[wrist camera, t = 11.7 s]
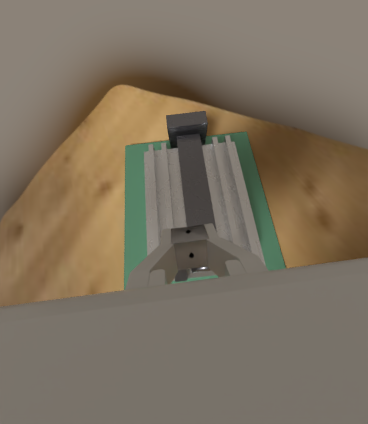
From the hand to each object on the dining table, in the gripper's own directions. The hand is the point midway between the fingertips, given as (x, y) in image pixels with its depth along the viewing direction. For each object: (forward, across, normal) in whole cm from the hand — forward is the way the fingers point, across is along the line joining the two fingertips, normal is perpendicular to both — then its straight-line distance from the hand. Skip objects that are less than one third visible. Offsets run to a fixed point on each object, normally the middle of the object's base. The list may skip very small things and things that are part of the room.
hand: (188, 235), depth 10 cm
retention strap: (+10, -2, +2) cm, 11 cm away
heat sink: (+13, -2, +3) cm, 14 cm away
